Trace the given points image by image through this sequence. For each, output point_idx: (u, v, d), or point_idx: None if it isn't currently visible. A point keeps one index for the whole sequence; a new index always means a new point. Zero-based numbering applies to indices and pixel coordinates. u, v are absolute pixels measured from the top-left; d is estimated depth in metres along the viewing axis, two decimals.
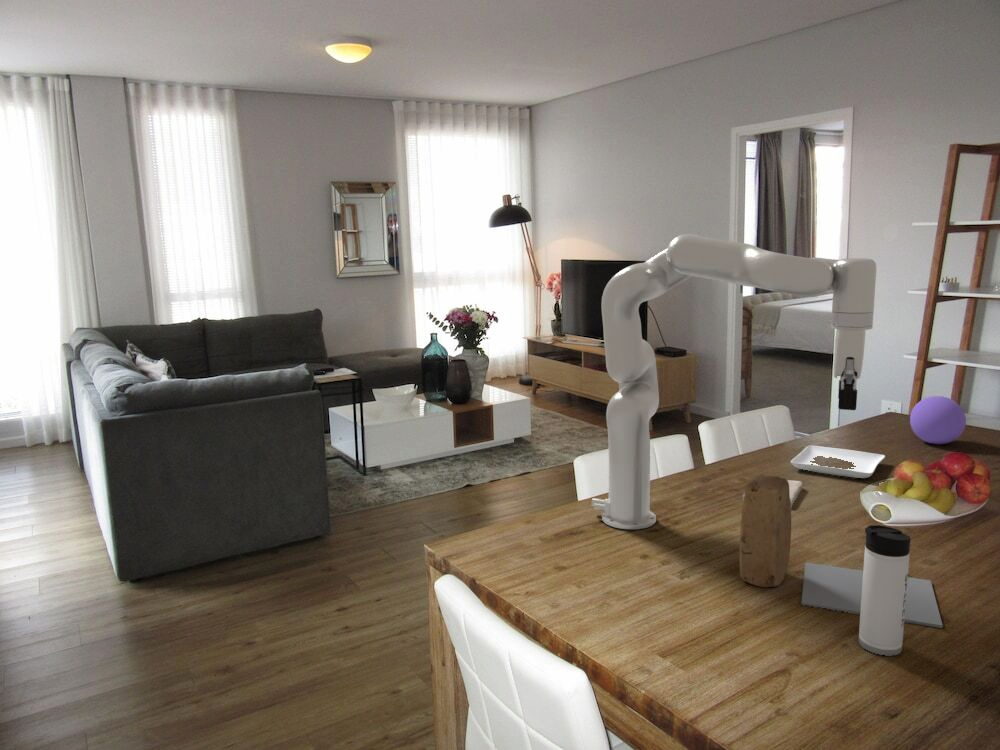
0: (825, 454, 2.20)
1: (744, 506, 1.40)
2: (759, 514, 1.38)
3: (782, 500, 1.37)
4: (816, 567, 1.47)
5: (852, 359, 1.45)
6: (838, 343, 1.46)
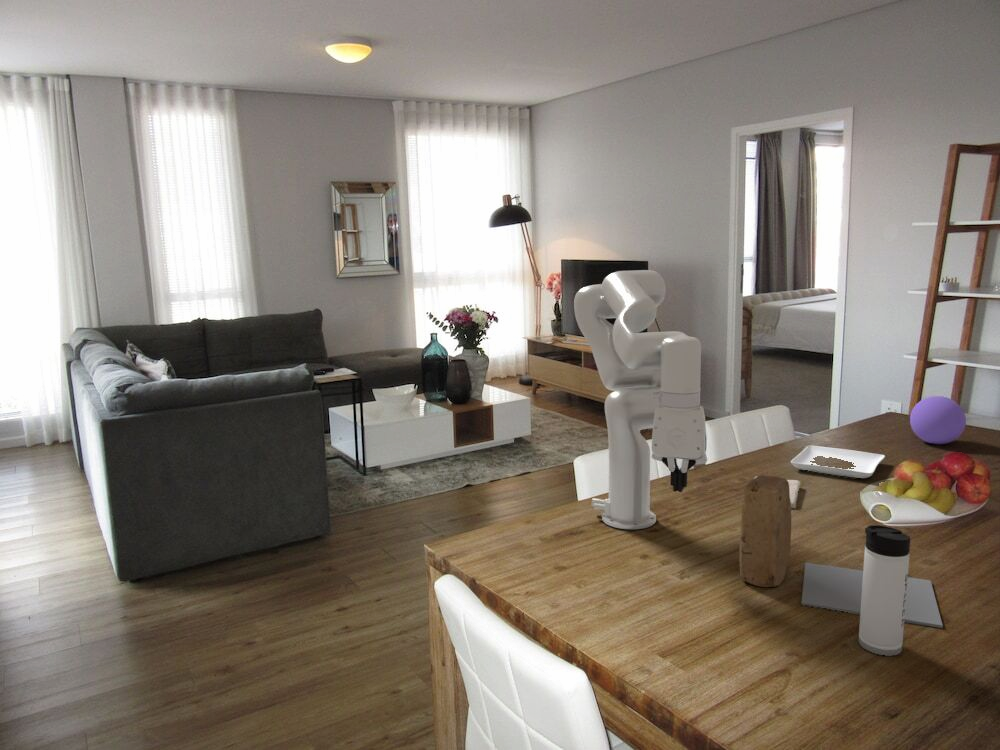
0: (825, 454, 2.20)
1: (744, 506, 1.40)
2: (759, 514, 1.38)
3: (782, 500, 1.37)
4: (816, 567, 1.47)
5: None
6: (701, 424, 1.42)
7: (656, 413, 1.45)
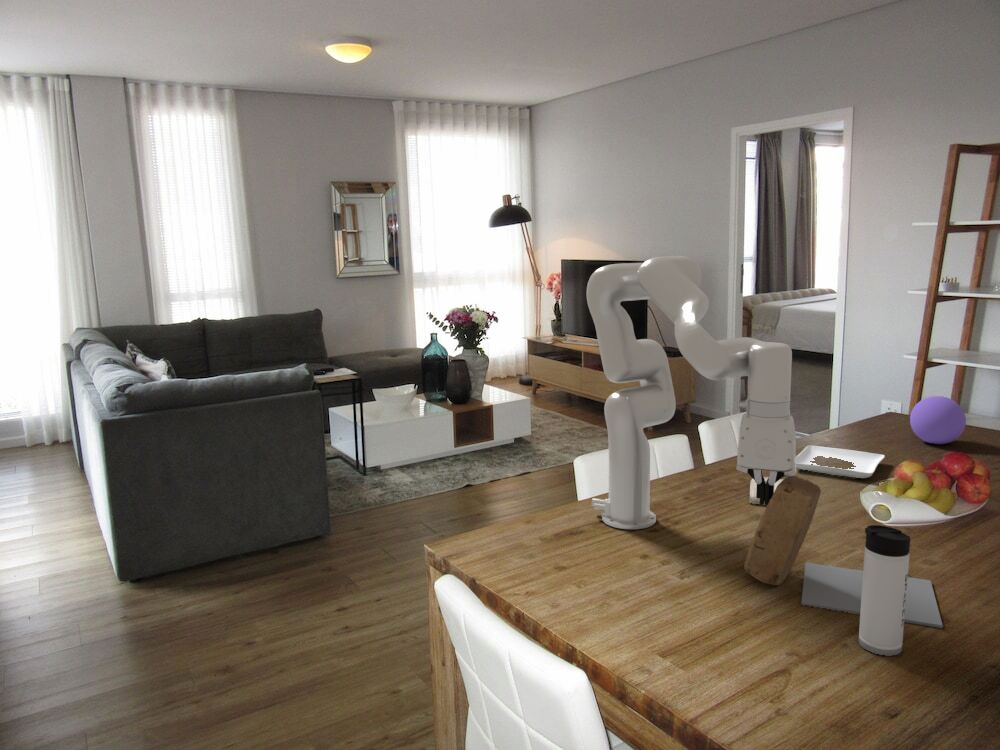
0: (825, 454, 2.20)
1: (771, 502, 1.37)
2: (784, 515, 1.35)
3: (811, 507, 1.35)
4: (816, 567, 1.47)
5: None
6: (792, 434, 1.35)
7: (743, 423, 1.39)
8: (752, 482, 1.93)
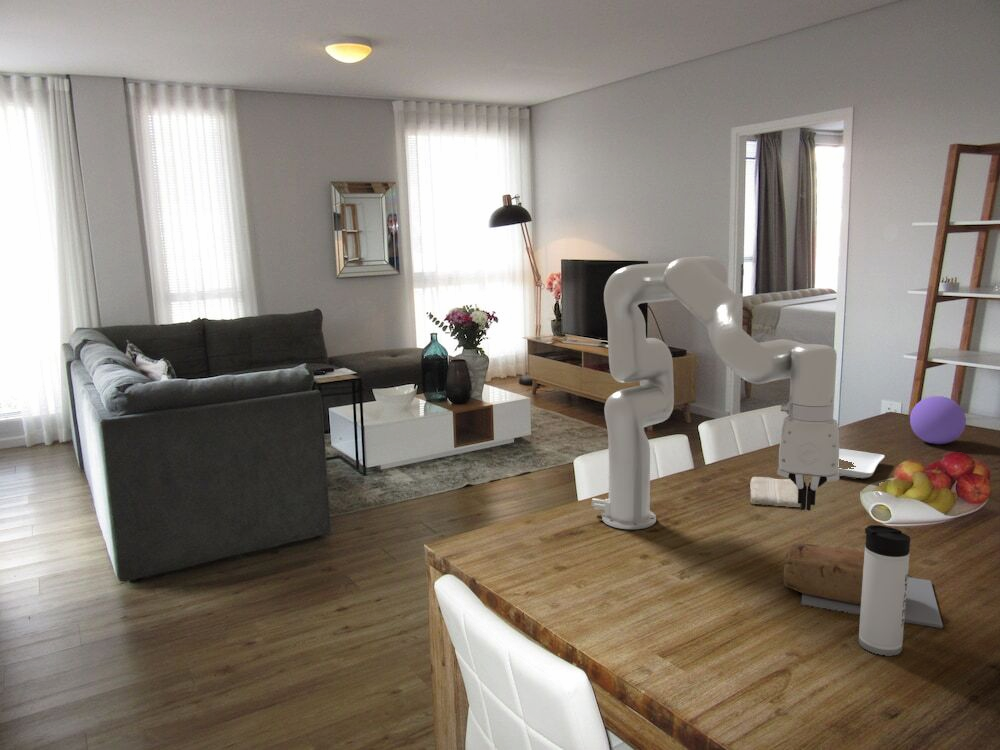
0: None
1: None
2: None
3: None
4: None
5: None
6: (836, 438, 1.33)
7: (785, 426, 1.36)
8: (752, 482, 1.93)
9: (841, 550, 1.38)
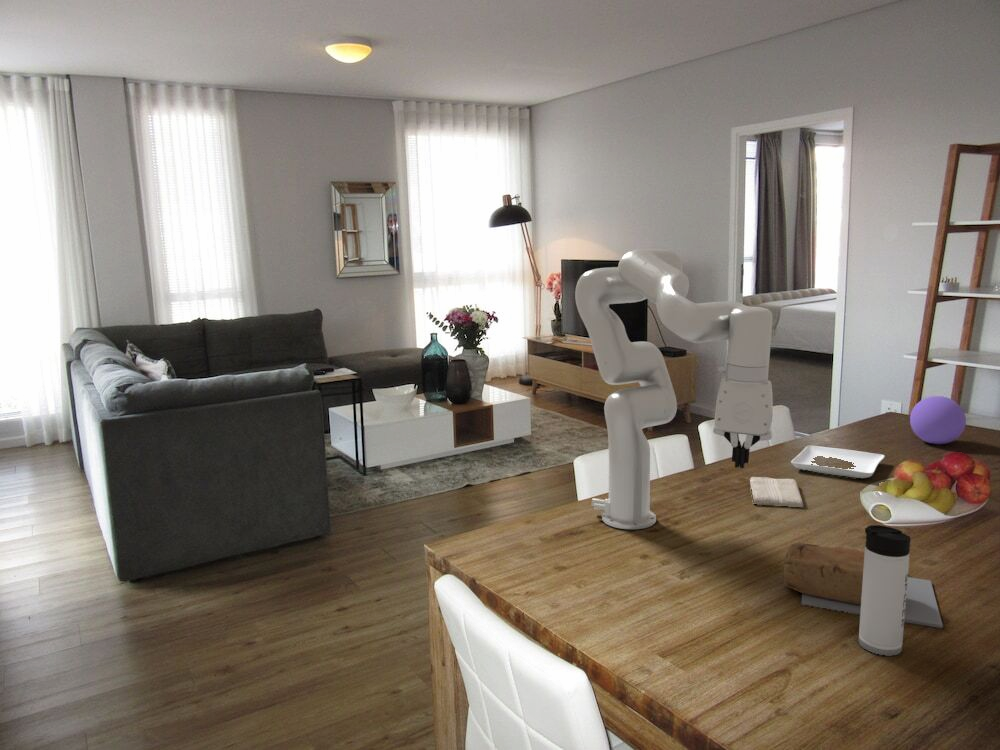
0: (825, 454, 2.20)
1: None
2: None
3: None
4: None
5: None
6: (769, 399, 1.36)
7: (721, 386, 1.39)
8: (752, 483, 1.93)
9: (841, 550, 1.38)
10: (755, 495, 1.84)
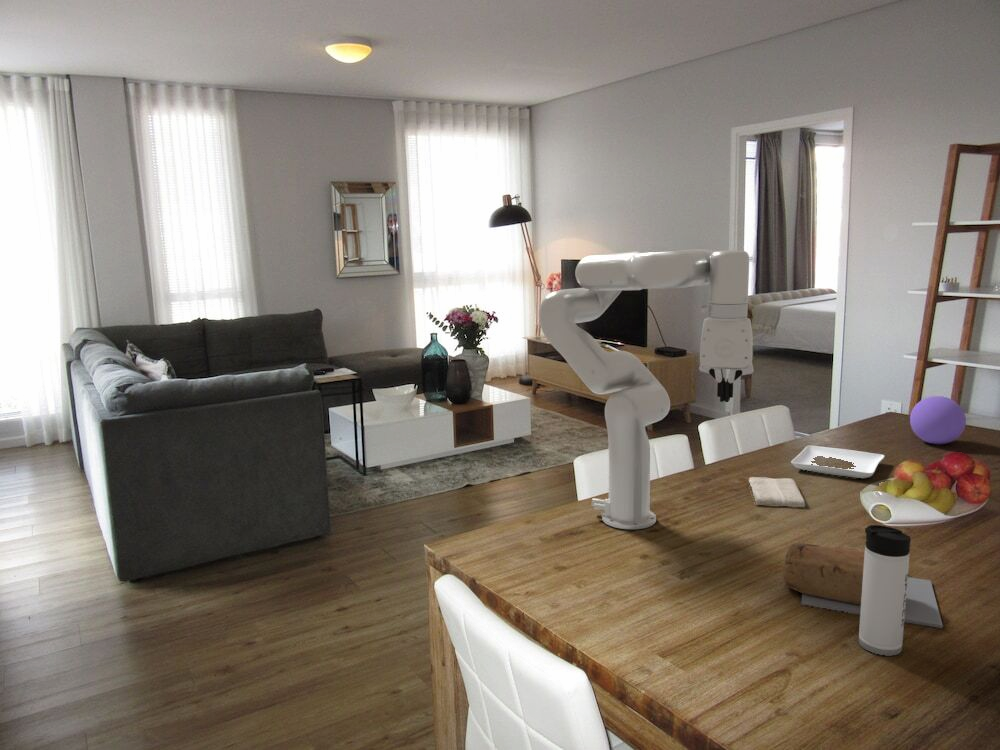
0: (825, 454, 2.20)
1: None
2: None
3: None
4: None
5: None
6: (749, 334, 1.47)
7: (704, 325, 1.50)
8: (752, 483, 1.92)
9: (841, 550, 1.38)
10: (757, 496, 1.84)
